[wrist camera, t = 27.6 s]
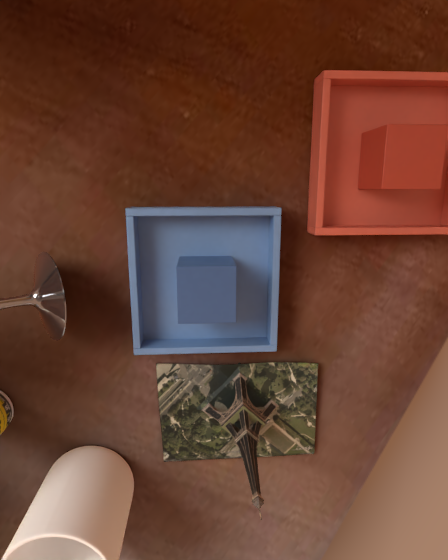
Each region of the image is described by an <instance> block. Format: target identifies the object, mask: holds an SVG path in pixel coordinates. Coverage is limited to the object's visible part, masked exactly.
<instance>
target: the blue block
mask: <svg viewBox="0 0 448 560" xmlns="http://www.w3.org/2000/svg"><path fill="white" fill-rule="evenodd" d="M176 278H177V311H178V324H202V323H236V298H237V266H236V264H235V262H234V260H233V258H232V256H180V257H179V260H178V263H177V266H176Z"/></svg>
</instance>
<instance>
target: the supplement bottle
mask: <svg viewBox="0 0 448 560" xmlns="http://www.w3.org/2000/svg"><path fill="white" fill-rule="evenodd" d="M13 413H14V409H13V404H12V402H11V400H10V399H9V397H8V396H7V395H6V394H5V393H4V392H2V391H1V390H0V435H1V434H2V432H3V431H4V430H5V429H6V428H7V427H8V425H9V424H10V422H11V420H12V418H13Z"/></svg>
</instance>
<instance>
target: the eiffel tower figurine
mask: <svg viewBox="0 0 448 560" xmlns="http://www.w3.org/2000/svg"><path fill="white" fill-rule="evenodd" d="M156 371H157V384H158V398H159V411H160V421H161V430H162V441H163V455H164V462H167V461H187V460H205V459H228V458H243V461H244V465H245V468H246V472H247V476H248V479H249V483H250V487H251V491H252V495H253V499H252V502H253V505H254V506H256V507H257V508H258V509H259V513H260V508H261V506H262V505H263V504H264V503H263V501H264V500H263V498H262V497H261V492H260V484H259V475H258V464H257V457H267V456H284V455H298V454H314V447H315V425H316V401H317V375H318V363H294V362H268V363H252V364H241V363H238V364H230V365H200V364H156ZM260 518H261V513H260ZM261 520H262V518H261Z"/></svg>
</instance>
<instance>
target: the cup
mask: <svg viewBox="0 0 448 560" xmlns="http://www.w3.org/2000/svg"><path fill="white" fill-rule="evenodd" d="M133 491H134V478H133V474H132V471H131V469H130V467H129V465H128V464H127V462H126V461H125V460H124V459H123V458H122V457H121V456H120V455H119V454H117V453H116V452H114V451H112V450H110V449H108V448H105V447H101V446H83V447H78V448H75V449H72V450H70V451H68V452H67V453H65V454H63V455H62V456H61V457H60V458H59V459H58V460H57V461H56V462H55V463H54V464H53V466H52V467H51V469H50V470H49V472H48V474H47V476H46V477H45V479H44V481H43V483H42V485H41V487H40V488H39V490H38V492H37V494H36V496H35V498H34V500H33V502H32V503H31V505H30V507H29V509H28V511H27V513H26V515H25V516H24V518H23V520H22V522H21V524H20V526H19V528H18V530H17V531H16V533H15V535H14V537H13V539H12V541H11V543H10V544H9V546H8V548H7V550H6V552H5V554H4V556H3V558H2V559H1V560H119V557H120V552H121V548H122V543H123V539H124V534H125V529H126V525H127V520H128V516H129V511H130V506H131V502H132V497H133Z"/></svg>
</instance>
